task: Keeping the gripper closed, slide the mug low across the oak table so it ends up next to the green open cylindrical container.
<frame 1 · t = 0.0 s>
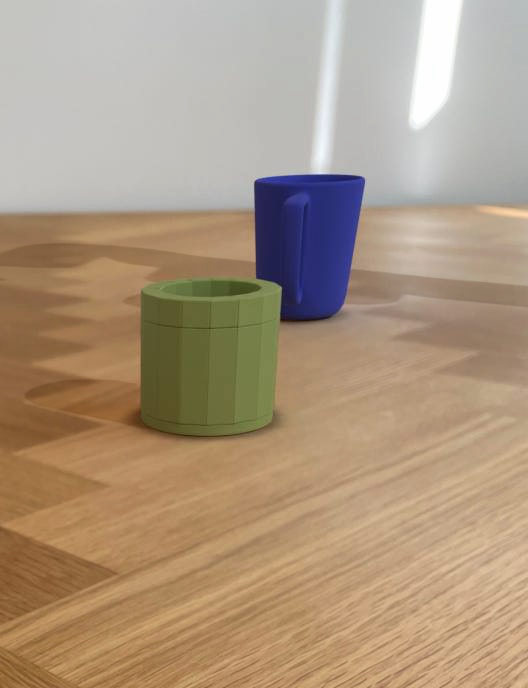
green open cylindrical container: (206, 417, 59), on the table
mug: (295, 321, 82), on the table
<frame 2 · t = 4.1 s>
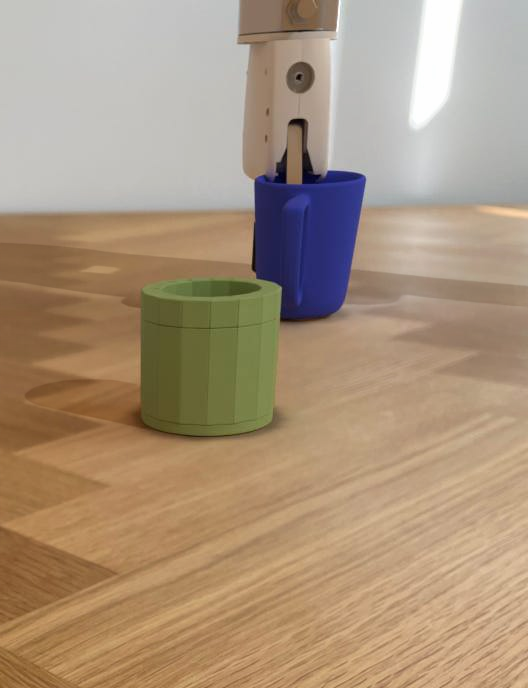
hand: (272, 272, 88), 2 cm above the table, tool pointing down, fingers closed
mug: (295, 320, 82), on the table, touching gripper
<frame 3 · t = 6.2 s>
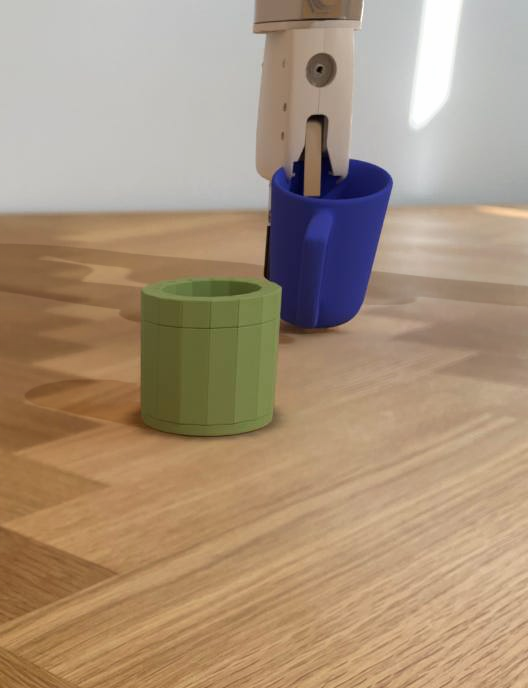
hand: (285, 279, 82), 3 cm above the table, tool pointing down, fingers closed
mug: (310, 327, 78), on the table, touching gripper
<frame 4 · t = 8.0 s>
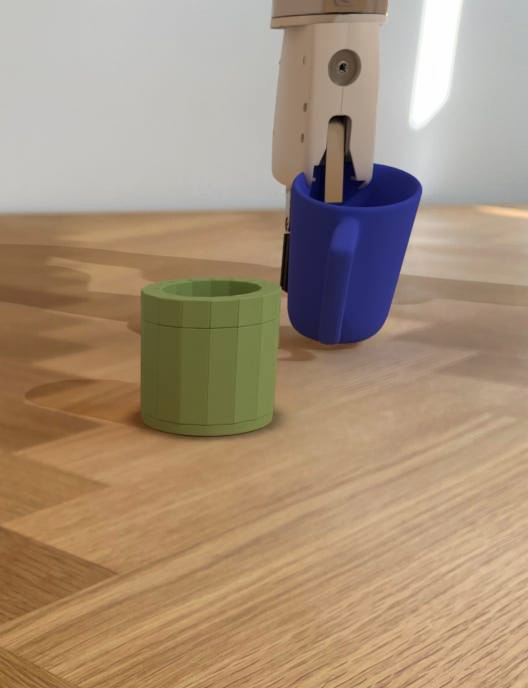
hand: (303, 291, 77), 3 cm above the table, tool pointing down, fingers closed
mug: (331, 342, 73), on the table, touching gripper
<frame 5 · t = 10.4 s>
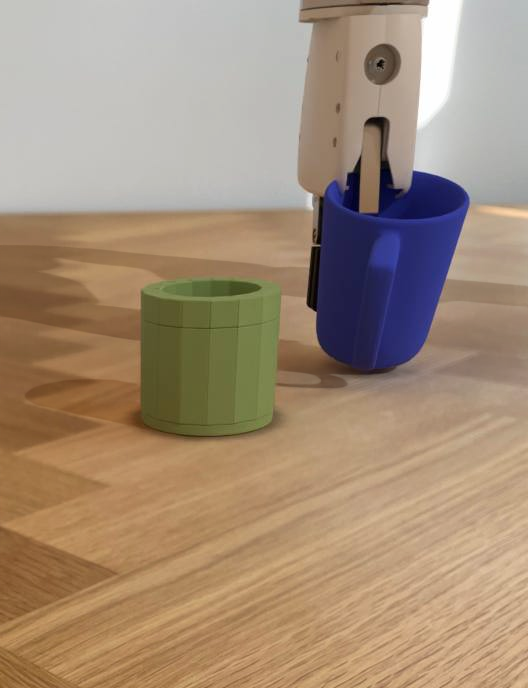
hand: (332, 308, 71), 3 cm above the table, tool pointing down, fingers closed
mug: (363, 366, 67), on the table, touching gripper
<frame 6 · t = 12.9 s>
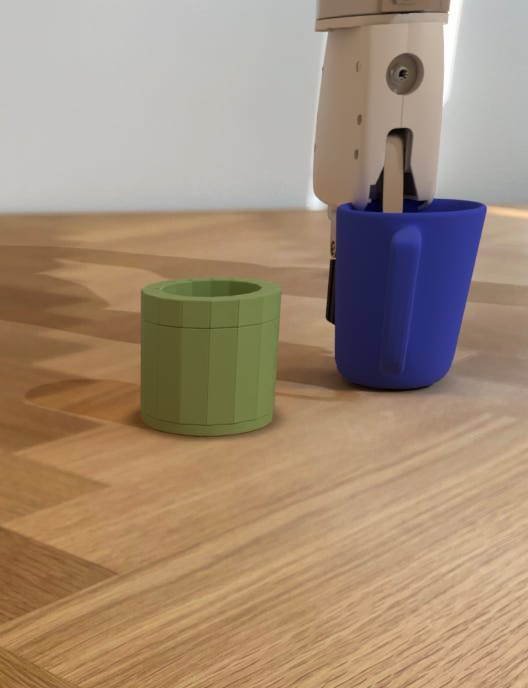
hand: (352, 322, 69), 2 cm above the table, tool pointing down, fingers closed
mug: (389, 390, 63), on the table
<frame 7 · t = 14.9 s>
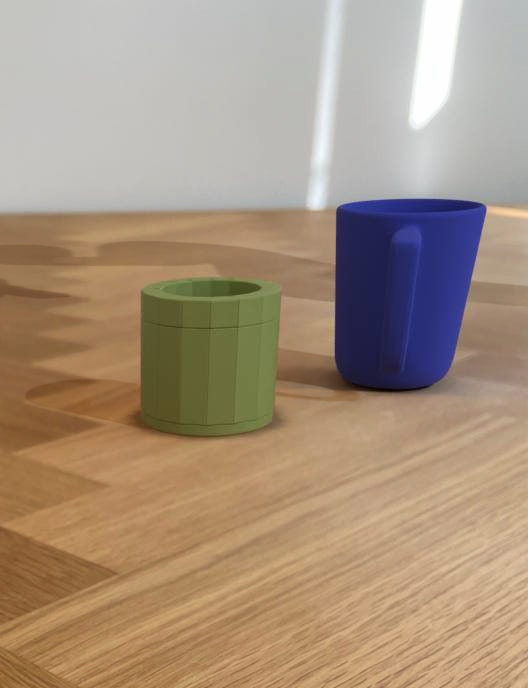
nothing on the table moved.
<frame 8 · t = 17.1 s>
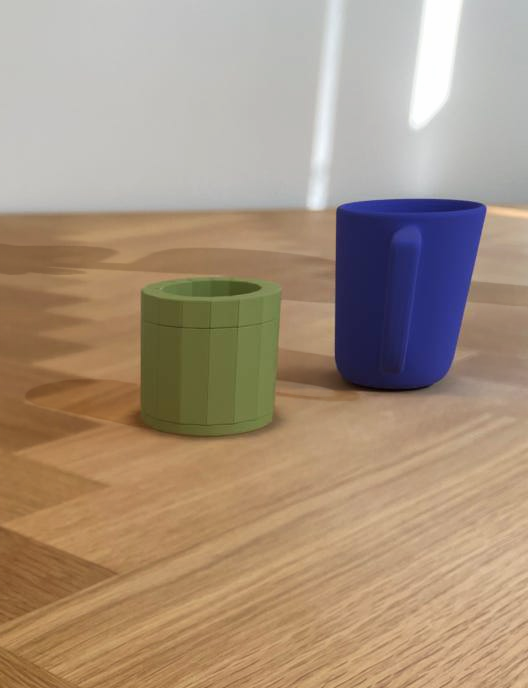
nothing on the table moved.
at the end: mug 12.6 cm from the green open cylindrical container (horizontally); mug moved 21.8 cm from its start; mug tilted 0° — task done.
